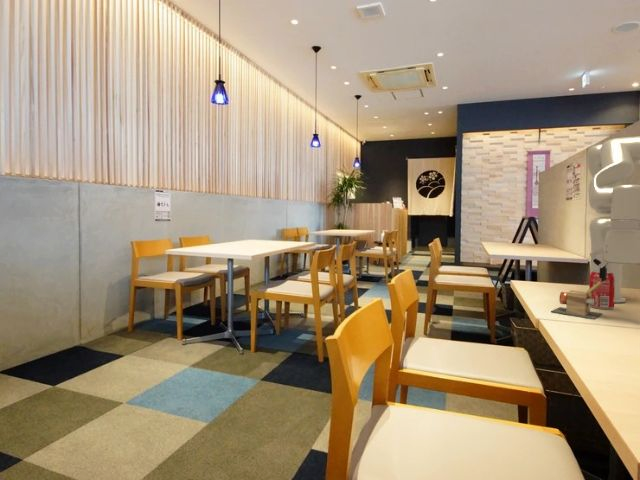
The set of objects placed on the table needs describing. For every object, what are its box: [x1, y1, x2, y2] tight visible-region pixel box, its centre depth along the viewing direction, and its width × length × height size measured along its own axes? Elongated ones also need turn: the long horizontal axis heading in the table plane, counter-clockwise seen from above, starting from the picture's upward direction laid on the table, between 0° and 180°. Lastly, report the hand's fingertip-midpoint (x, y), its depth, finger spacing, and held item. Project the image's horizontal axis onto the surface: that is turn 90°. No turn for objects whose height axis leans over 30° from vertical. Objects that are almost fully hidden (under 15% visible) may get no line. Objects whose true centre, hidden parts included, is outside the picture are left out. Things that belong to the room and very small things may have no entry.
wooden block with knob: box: [550, 289, 603, 320], centre depth 124 cm, size 10×12×7 cm
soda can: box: [588, 270, 615, 311], centre depth 132 cm, size 7×7×13 cm
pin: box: [559, 291, 594, 305], centre depth 123 cm, size 4×9×4 cm, turn 42°
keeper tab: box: [586, 280, 605, 293], centre depth 120 cm, size 5×5×1 cm
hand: (623, 282), depth 114 cm, fingers open, 9 cm apart
